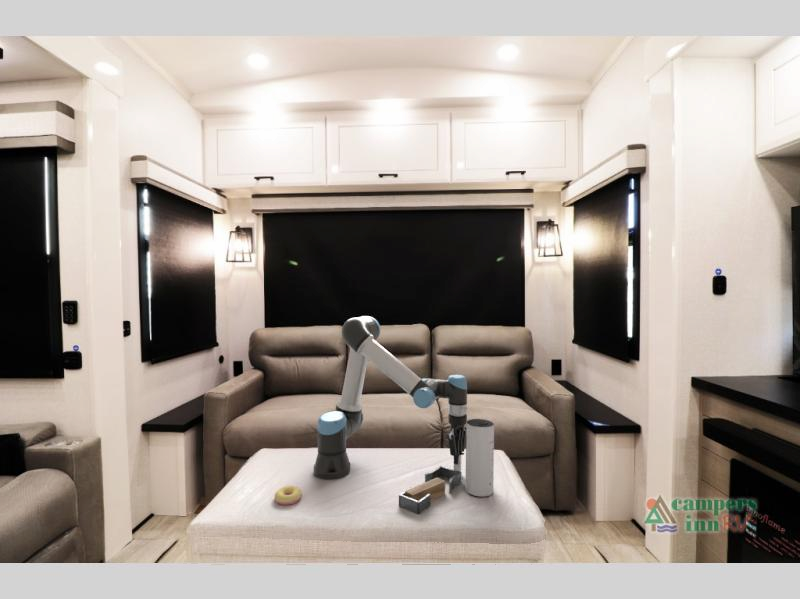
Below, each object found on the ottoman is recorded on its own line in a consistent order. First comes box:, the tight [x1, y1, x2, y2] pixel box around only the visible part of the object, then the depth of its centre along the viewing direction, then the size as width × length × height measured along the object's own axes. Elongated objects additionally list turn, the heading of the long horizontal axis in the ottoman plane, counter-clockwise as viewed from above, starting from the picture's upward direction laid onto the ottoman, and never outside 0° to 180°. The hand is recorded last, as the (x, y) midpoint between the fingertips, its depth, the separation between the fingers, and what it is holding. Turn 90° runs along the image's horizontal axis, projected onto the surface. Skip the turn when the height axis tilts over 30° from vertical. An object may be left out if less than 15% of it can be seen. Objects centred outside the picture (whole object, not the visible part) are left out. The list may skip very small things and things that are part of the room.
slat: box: [404, 477, 446, 502], centre depth 147 cm, size 4×16×5 cm, turn 130°
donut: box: [274, 485, 303, 506], centre depth 147 cm, size 10×5×9 cm
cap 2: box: [424, 465, 462, 494], centre depth 158 cm, size 12×10×4 cm
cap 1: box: [398, 487, 431, 515], centre depth 142 cm, size 9×7×4 cm
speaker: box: [465, 418, 495, 498], centre depth 153 cm, size 11×10×26 cm
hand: (457, 470), depth 167 cm, fingers closed
